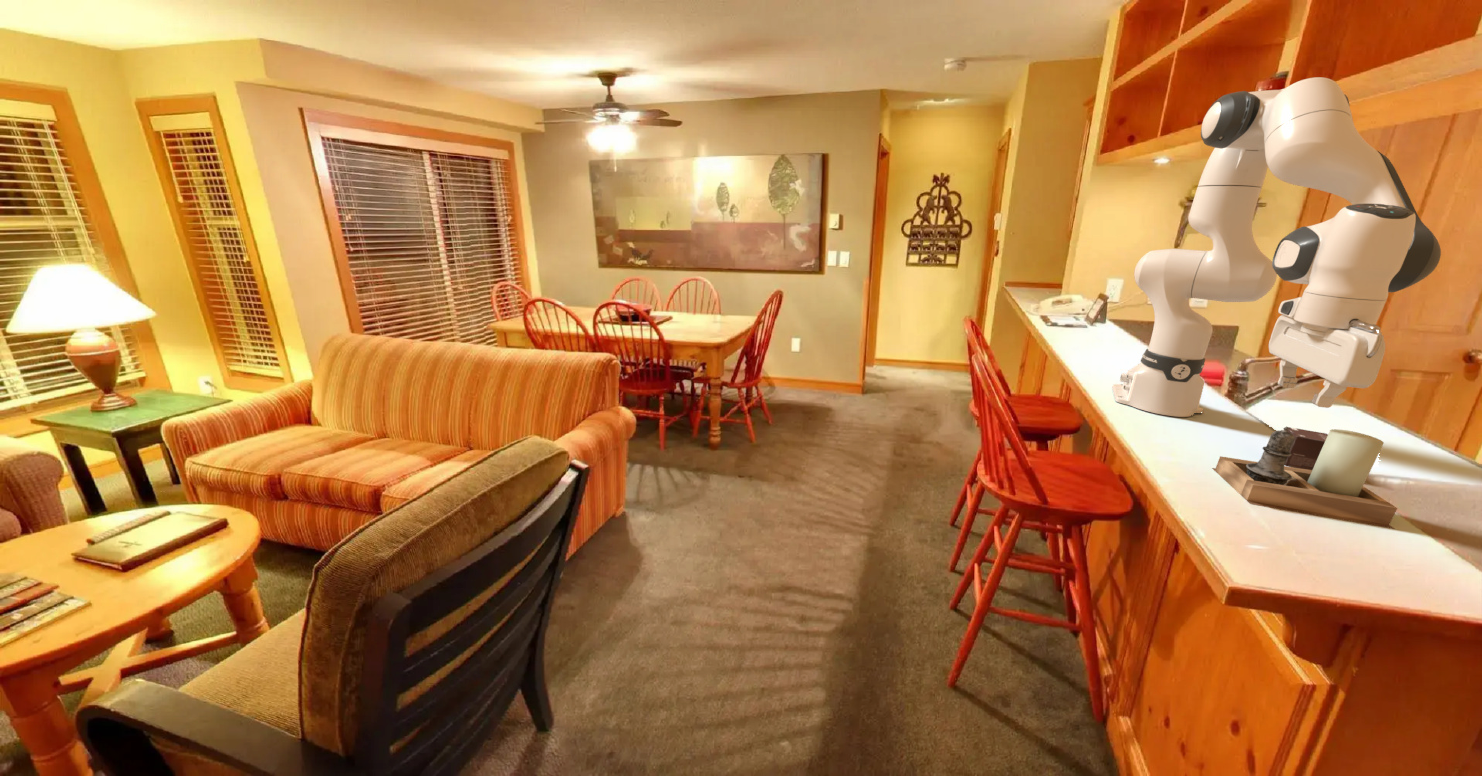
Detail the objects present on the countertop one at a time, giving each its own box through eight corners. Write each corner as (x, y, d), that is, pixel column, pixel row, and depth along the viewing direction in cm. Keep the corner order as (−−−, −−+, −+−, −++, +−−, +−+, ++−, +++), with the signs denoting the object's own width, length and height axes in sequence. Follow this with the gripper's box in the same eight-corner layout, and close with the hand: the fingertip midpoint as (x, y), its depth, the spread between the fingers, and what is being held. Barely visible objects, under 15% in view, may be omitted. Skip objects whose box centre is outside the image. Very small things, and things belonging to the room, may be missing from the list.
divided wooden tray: (1210, 472, 102) (1217, 453, 100) (1332, 492, 96) (1341, 472, 95) (1248, 509, 89) (1257, 488, 88) (1392, 534, 84) (1403, 512, 82)
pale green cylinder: (1294, 488, 95) (1321, 426, 91) (1337, 495, 93) (1366, 432, 89) (1315, 505, 89) (1345, 440, 85) (1361, 513, 87) (1394, 447, 83)
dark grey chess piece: (1293, 499, 91) (1321, 435, 87) (1253, 494, 92) (1279, 431, 88) (1268, 483, 96) (1293, 422, 92) (1231, 478, 97) (1254, 418, 93)
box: (1324, 479, 101) (1339, 444, 99) (1281, 470, 104) (1295, 435, 102) (1313, 467, 106) (1327, 433, 104) (1272, 458, 109) (1286, 425, 107)
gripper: (1416, 330, 73) (1372, 422, 78) (1320, 303, 91) (1290, 379, 96) (1356, 325, 75) (1318, 415, 80) (1274, 300, 93) (1247, 375, 98)
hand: (1302, 395), depth 88 cm, fingers open, 8 cm apart
